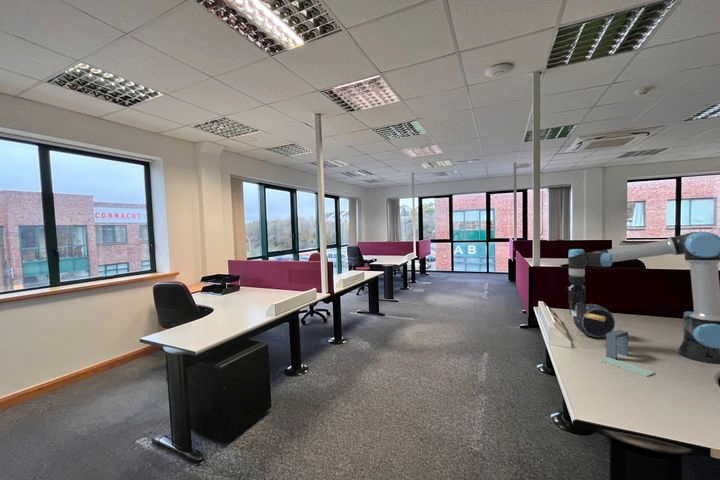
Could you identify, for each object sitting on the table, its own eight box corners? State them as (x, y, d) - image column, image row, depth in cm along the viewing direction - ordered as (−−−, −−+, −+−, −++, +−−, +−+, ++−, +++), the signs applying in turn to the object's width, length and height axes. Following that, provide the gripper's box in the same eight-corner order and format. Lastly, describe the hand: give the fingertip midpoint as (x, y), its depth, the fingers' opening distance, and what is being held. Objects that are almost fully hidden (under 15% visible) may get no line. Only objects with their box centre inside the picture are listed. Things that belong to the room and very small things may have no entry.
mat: (608, 358, 149) (608, 357, 149) (654, 373, 133) (654, 372, 133) (600, 361, 147) (600, 359, 147) (646, 376, 130) (646, 375, 130)
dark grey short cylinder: (617, 340, 174) (617, 307, 173) (580, 338, 178) (580, 306, 177) (606, 334, 184) (606, 303, 184) (571, 332, 188) (571, 302, 188)
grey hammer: (575, 314, 172) (575, 302, 172) (607, 320, 158) (606, 308, 158) (570, 315, 170) (569, 303, 170) (601, 322, 156) (601, 309, 156)
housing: (618, 352, 156) (618, 329, 156) (628, 355, 152) (628, 332, 152) (606, 356, 151) (606, 333, 151) (615, 359, 148) (615, 335, 147)
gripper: (579, 273, 176) (579, 311, 176) (560, 276, 169) (560, 315, 169) (593, 275, 169) (593, 314, 169) (573, 277, 162) (574, 318, 162)
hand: (577, 315), depth 169 cm, fingers closed on grey hammer, 5 cm apart
